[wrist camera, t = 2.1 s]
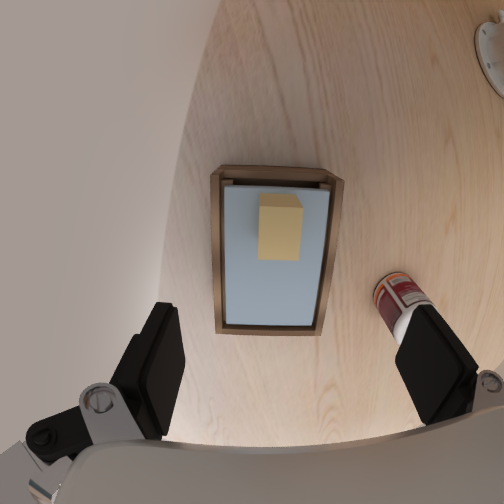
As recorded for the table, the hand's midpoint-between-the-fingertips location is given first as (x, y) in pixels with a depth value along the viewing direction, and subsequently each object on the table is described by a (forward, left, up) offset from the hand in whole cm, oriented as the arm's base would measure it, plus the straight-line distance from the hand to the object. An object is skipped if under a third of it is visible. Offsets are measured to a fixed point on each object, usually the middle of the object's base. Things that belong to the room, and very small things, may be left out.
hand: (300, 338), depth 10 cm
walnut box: (+4, 0, -22) cm, 23 cm away
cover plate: (+4, 0, -16) cm, 17 cm away
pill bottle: (+11, +17, -23) cm, 30 cm away
